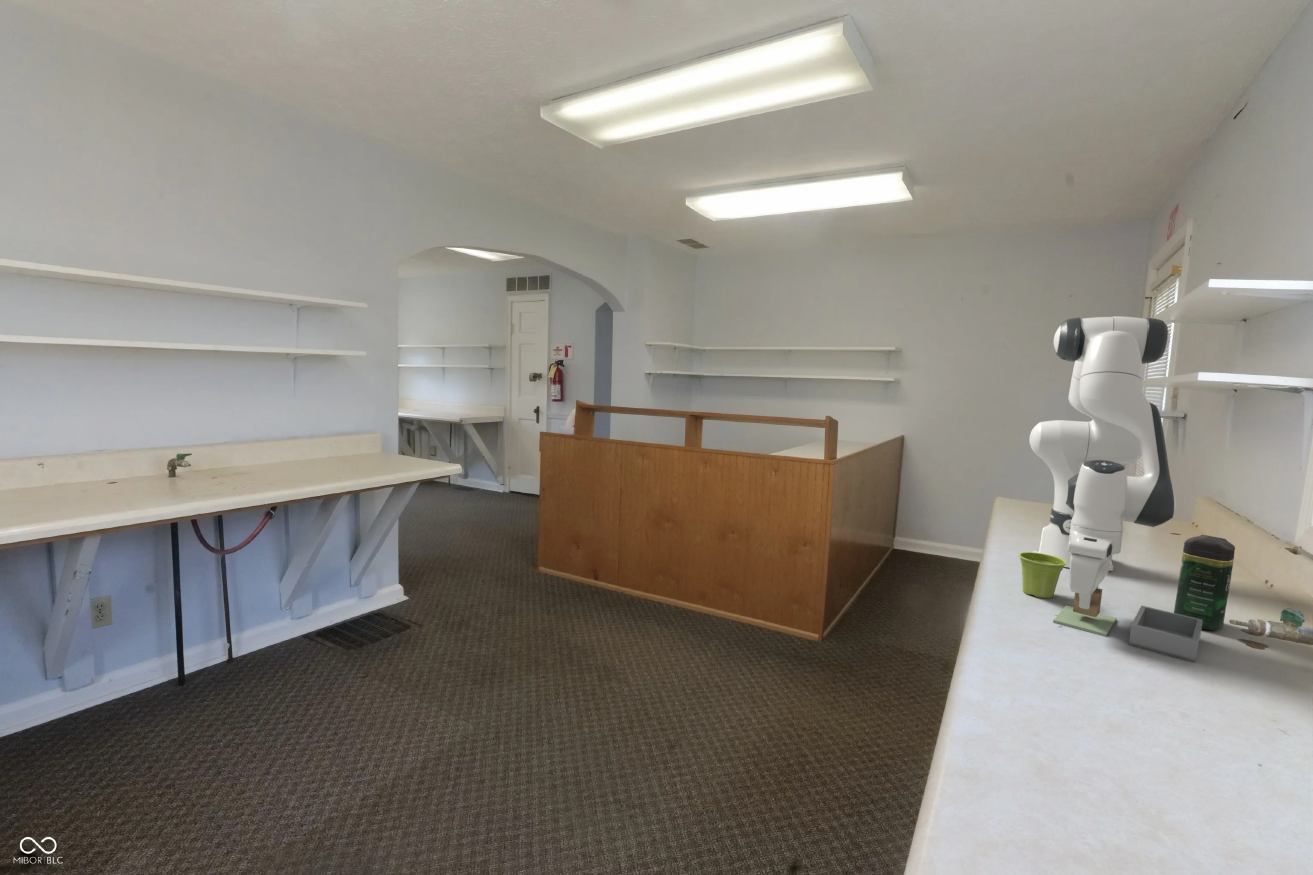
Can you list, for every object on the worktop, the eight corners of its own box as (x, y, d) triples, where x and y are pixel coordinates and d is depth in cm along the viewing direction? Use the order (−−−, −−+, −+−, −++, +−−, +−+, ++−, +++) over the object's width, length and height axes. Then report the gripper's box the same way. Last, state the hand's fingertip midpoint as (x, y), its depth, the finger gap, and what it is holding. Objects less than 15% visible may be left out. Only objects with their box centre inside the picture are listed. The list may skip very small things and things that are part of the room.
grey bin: (1139, 623, 129) (1141, 605, 128) (1199, 638, 122) (1202, 619, 122) (1128, 644, 118) (1131, 624, 118) (1194, 662, 112) (1197, 641, 111)
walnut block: (1076, 606, 132) (1079, 583, 131) (1099, 612, 129) (1102, 589, 129) (1072, 611, 129) (1075, 588, 128) (1096, 617, 126) (1099, 593, 126)
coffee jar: (1219, 635, 124) (1232, 545, 122) (1169, 622, 130) (1181, 536, 128) (1227, 623, 131) (1239, 538, 129) (1178, 611, 137) (1190, 529, 135)
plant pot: (1048, 588, 149) (1052, 553, 148) (1070, 602, 140) (1075, 565, 139) (1007, 585, 150) (1011, 550, 149) (1027, 599, 141) (1031, 562, 140)
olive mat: (1066, 607, 137) (1066, 605, 137) (1116, 619, 130) (1116, 617, 130) (1053, 622, 128) (1053, 619, 128) (1106, 636, 122) (1106, 633, 122)
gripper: (1086, 528, 137) (1079, 588, 139) (1066, 545, 122) (1058, 612, 124) (1121, 534, 133) (1113, 596, 134) (1105, 552, 118) (1096, 622, 120)
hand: (1087, 604), depth 129 cm, fingers closed on walnut block, 4 cm apart
